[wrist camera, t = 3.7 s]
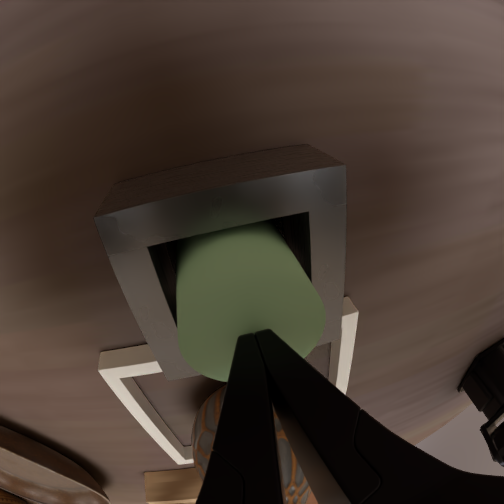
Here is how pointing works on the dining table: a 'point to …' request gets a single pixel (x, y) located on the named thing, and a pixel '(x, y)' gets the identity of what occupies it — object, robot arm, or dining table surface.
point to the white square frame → (143, 362)
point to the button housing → (221, 217)
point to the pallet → (172, 486)
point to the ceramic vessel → (9, 498)
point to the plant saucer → (44, 473)
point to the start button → (241, 295)
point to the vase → (202, 447)
